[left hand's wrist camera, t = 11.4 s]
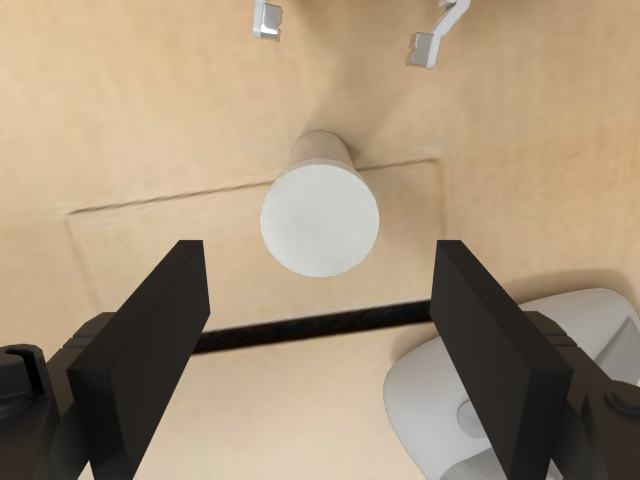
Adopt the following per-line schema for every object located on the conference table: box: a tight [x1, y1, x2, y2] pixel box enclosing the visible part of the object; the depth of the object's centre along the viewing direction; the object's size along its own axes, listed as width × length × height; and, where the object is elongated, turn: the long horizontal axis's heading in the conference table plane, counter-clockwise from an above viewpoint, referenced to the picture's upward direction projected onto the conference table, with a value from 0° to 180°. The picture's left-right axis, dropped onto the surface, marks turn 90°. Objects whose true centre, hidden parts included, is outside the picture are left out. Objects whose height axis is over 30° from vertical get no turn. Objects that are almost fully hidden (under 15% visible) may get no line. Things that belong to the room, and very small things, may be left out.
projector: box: [383, 288, 640, 480], centre depth 35 cm, size 22×23×15 cm
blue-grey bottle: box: [285, 131, 355, 170], centre depth 27 cm, size 5×5×16 cm
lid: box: [260, 158, 380, 277], centre depth 20 cm, size 6×6×2 cm
